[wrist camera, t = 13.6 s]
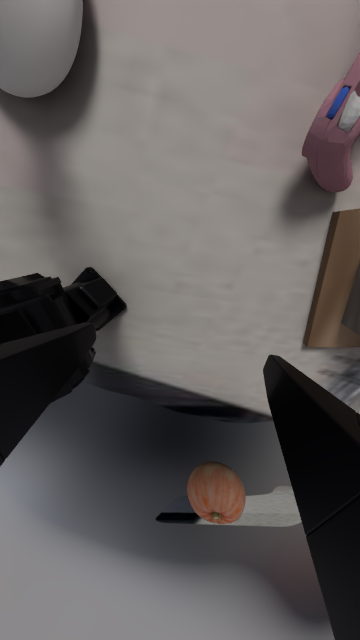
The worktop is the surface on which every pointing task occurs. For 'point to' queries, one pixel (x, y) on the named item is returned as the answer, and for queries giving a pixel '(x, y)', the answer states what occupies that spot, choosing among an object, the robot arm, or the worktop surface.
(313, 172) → the video game controller
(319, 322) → the holder
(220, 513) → the pumpkin
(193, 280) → the worktop surface
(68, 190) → the worktop surface
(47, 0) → the flower in vase
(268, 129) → the worktop surface
